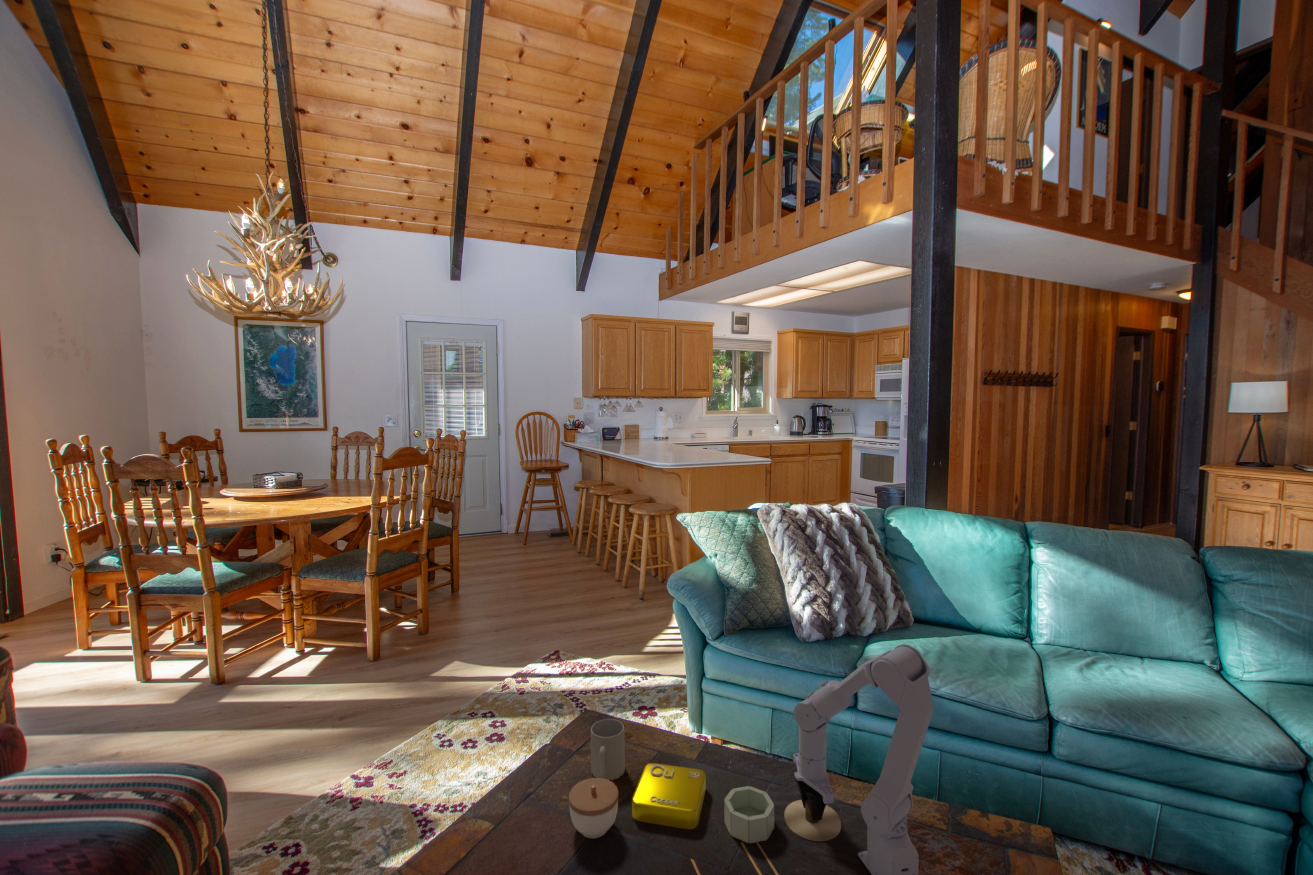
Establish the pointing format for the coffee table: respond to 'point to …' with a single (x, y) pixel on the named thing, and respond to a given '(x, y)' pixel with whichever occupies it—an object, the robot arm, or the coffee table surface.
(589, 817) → the lidded jar
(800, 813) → the lid
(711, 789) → the coffee table surface
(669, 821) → the element tile
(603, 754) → the mug
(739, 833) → the bowl
